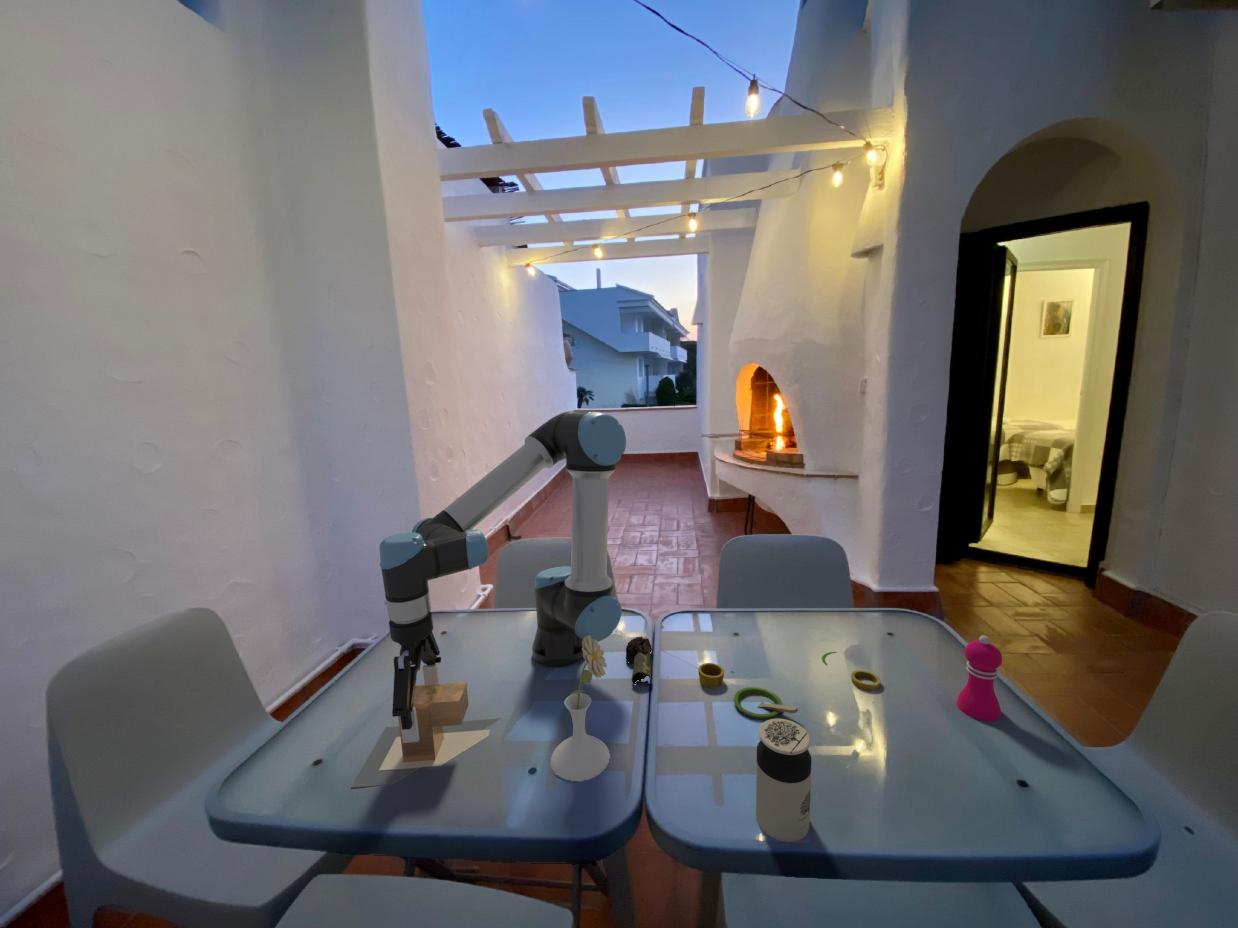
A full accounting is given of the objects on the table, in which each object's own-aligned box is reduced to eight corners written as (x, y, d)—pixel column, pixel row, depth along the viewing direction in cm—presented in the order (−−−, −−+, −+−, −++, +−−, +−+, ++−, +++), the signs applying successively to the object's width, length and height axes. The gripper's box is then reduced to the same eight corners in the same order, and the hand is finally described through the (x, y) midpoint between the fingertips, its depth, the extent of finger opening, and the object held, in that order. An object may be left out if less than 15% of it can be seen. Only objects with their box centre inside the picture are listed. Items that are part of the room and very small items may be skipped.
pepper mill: (986, 744, 96) (995, 649, 92) (947, 722, 102) (954, 632, 99) (1006, 731, 99) (1015, 639, 96) (967, 711, 105) (975, 623, 102)
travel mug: (745, 833, 78) (746, 731, 76) (775, 806, 83) (777, 710, 80) (789, 871, 72) (791, 762, 69) (818, 839, 77) (822, 736, 74)
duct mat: (509, 721, 107) (509, 716, 106) (497, 779, 91) (496, 774, 91) (386, 731, 105) (385, 726, 105) (351, 792, 89) (350, 786, 89)
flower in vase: (588, 801, 85) (581, 669, 81) (538, 776, 91) (529, 651, 87) (626, 753, 96) (622, 634, 92) (580, 733, 102) (574, 620, 98)
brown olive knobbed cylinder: (652, 689, 115) (652, 667, 114) (623, 688, 116) (623, 666, 115) (652, 651, 133) (652, 631, 132) (627, 650, 133) (627, 631, 132)
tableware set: (710, 741, 100) (710, 712, 99) (691, 664, 127) (691, 641, 126) (915, 736, 99) (917, 707, 98) (851, 660, 127) (852, 637, 126)
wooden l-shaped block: (413, 740, 100) (408, 686, 98) (471, 735, 101) (466, 682, 99) (403, 762, 94) (397, 705, 92) (464, 757, 95) (459, 700, 93)
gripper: (412, 589, 105) (423, 679, 109) (360, 652, 80) (377, 766, 84) (448, 586, 105) (458, 676, 109) (407, 648, 81) (422, 762, 85)
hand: (423, 716), depth 97 cm, fingers open, 13 cm apart
